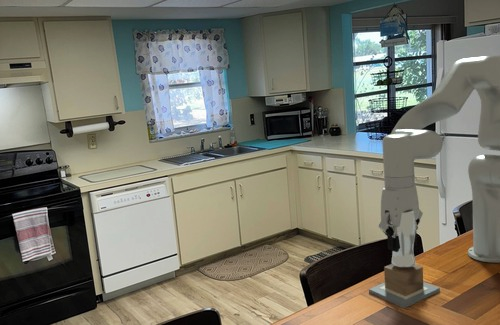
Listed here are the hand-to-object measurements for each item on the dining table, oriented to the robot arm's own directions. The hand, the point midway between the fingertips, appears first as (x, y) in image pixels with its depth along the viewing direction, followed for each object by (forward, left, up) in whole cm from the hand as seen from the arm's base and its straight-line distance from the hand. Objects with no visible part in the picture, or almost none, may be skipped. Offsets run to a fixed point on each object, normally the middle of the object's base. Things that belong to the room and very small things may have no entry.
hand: (402, 246), depth 124 cm
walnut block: (0, 0, -12) cm, 12 cm away
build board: (0, 0, -13) cm, 13 cm away
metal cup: (0, 0, -5) cm, 5 cm away
